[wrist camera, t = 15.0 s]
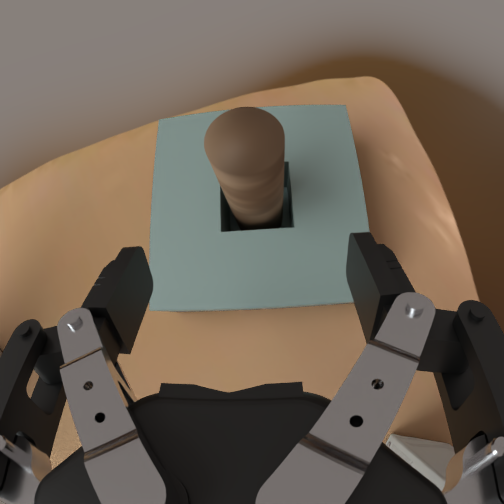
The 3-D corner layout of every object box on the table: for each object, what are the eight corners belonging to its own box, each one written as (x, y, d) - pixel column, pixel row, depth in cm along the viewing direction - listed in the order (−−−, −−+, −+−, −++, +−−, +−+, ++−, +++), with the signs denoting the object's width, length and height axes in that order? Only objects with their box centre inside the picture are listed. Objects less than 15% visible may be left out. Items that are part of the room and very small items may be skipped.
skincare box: (363, 479, 23) (413, 572, 8) (391, 428, 24) (469, 502, 9) (427, 487, 21) (493, 558, 7) (453, 440, 22) (539, 494, 8)
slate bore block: (175, 311, 27) (149, 310, 21) (178, 151, 30) (159, 119, 25) (355, 302, 26) (376, 299, 20) (335, 140, 29) (345, 105, 24)
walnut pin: (237, 240, 27) (203, 177, 14) (236, 197, 28) (204, 111, 15) (284, 237, 27) (288, 171, 14) (280, 194, 28) (281, 104, 15)
